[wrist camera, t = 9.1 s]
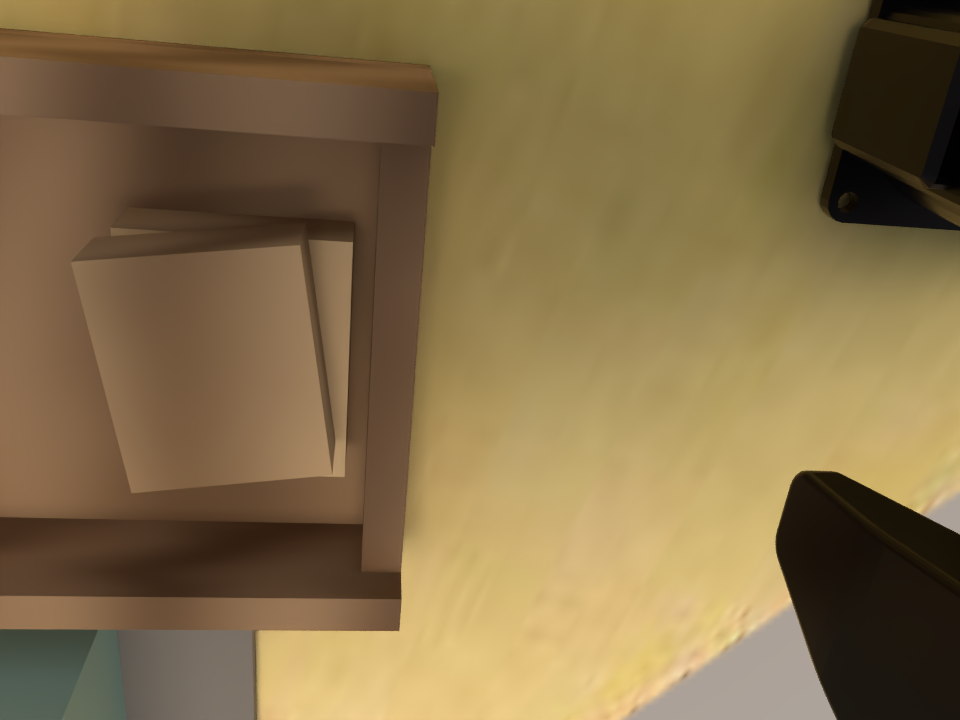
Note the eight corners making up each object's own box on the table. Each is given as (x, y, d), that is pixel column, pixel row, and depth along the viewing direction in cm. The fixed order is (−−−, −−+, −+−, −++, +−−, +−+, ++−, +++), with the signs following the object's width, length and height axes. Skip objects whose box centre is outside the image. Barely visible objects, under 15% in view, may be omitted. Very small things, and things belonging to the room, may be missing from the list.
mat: (253, 553, 25) (250, 566, 24) (257, 775, 29) (255, 791, 28) (-130, 547, 24) (-143, 561, 23) (-73, 781, 27) (-81, 798, 27)
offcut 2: (354, 221, 20) (353, 242, 19) (346, 444, 23) (344, 477, 22) (128, 207, 20) (110, 227, 18) (146, 438, 22) (131, 471, 21)
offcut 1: (305, 222, 19) (300, 245, 17) (335, 440, 21) (332, 475, 20) (93, 237, 18) (70, 261, 17) (147, 456, 21) (131, 493, 20)
